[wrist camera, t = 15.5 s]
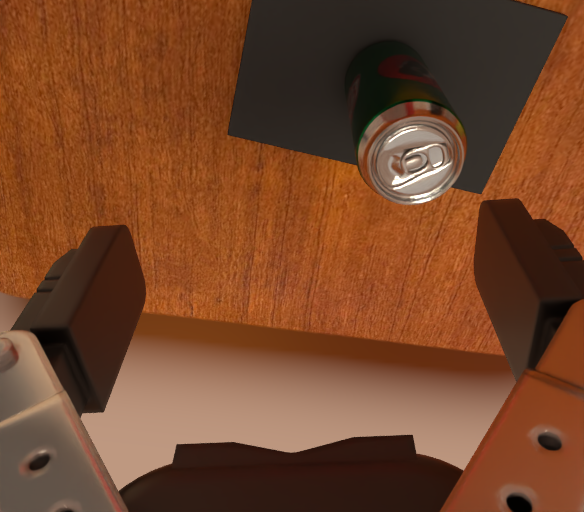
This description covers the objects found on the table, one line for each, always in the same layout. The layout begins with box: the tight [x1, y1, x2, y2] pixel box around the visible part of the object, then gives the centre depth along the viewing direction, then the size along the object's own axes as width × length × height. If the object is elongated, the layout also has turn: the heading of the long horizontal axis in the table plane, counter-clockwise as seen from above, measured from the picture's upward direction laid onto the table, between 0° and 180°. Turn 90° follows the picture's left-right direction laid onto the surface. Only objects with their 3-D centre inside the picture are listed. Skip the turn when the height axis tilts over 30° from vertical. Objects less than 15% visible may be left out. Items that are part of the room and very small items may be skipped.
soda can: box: [344, 41, 467, 205], centre depth 30 cm, size 5×5×12 cm
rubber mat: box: [228, 0, 568, 194], centre depth 35 cm, size 18×12×1 cm, turn 76°
